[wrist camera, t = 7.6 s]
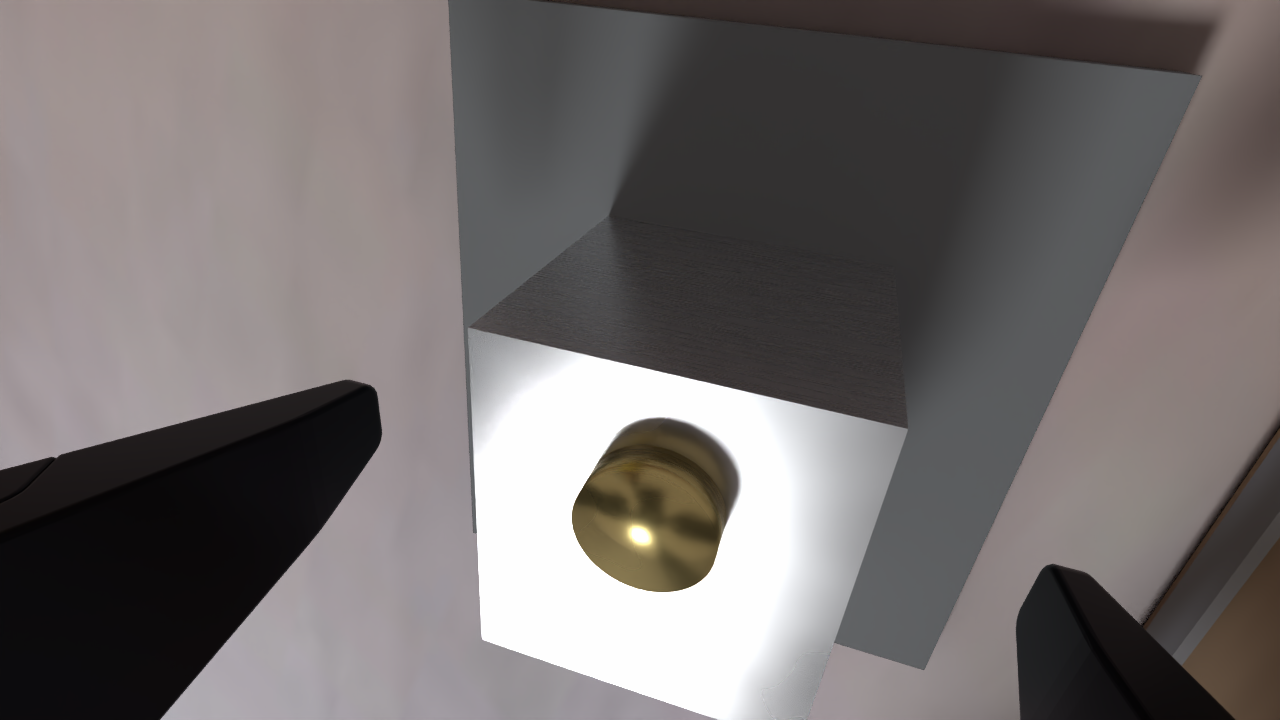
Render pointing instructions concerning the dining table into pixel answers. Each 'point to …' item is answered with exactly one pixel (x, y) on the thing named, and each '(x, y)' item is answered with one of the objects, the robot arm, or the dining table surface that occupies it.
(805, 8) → the dining table surface
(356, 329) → the dining table surface
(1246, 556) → the plane body
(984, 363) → the mat
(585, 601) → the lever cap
